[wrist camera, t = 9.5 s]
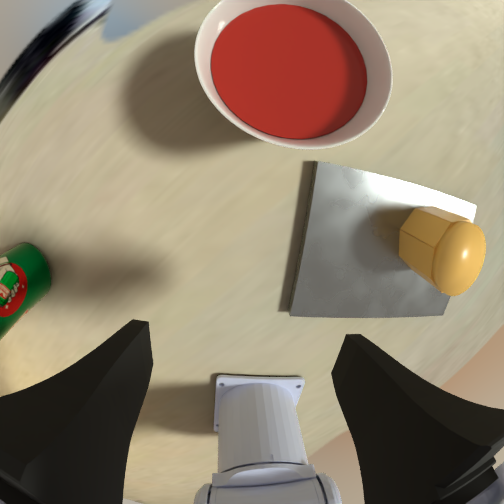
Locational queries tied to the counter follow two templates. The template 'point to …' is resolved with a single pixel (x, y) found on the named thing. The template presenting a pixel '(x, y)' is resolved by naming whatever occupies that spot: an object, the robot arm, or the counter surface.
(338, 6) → the candle
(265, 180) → the counter surface
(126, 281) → the counter surface
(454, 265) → the orange cap
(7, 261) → the soda can
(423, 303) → the plate
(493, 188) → the counter surface
